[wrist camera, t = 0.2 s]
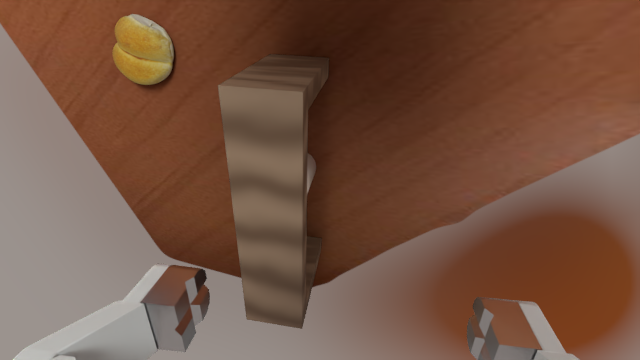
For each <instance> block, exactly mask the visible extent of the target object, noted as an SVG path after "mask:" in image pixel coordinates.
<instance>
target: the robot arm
mask: <svg viewBox="0 0 640 360" xmlns="http://www.w3.org/2000/svg"><path fill="white" fill-rule="evenodd" d="M206 279H207V277H206V273H205V270H203V269H200V268H192V267H185V266H177V265H166V264H159V263H158V264H156V265H153V266H152V268H150V270H149V271H148V272H147V273H146V274H145V275H144V277H143V278H142V279H141V280H140V281H139V282H138V284H137V285H136V286H135V287H134V288H133V289H132V290H131V292H130V293H129V294H128V295H127V296H126V297H125V298H124V300H123V301H116V302H114V303H112V304H110V305H108V306H106V307H104V308H102V309H100V310H98V311H96V312H94V313H92V314H90V315H88V316H86V317H85V318H83V319H81V320H79V321H77V322H75V323H73V324H71V325H69V326H67V327H65V328H63V329H61V330H59V331H57V332H55V333H53V334H51V335H49V336H47V337H46V338H44V339H42V340H40V341H38V342H36V343H34V344H32V345H30V346H28V347H26V348H24V349H23V350H22V351H21V352H20V353H19V354H18V355H17V356H16V357H15V358H14V359H13V360H147V359H148V358H149V357H151V356H152V355H153V354H154V353H156V352H157V351H158V350H157V349H161V350H171V351H181V352H186V350H187V348H188V346H189V344H190V343H191V341H192V339H193V337H194V335H195V334H196V330H195V325H197V324H198V323H200V322H201V321H202V320H203V319H204V317H205V315H206V313H207V310H208V306H209V300H210V294H209V289H208V288H207V287H206V286H205V285H204V283H205V281H206ZM473 309H474V312H475V315H473V316H472V317H471V318H469V322H468V326H467V339H468V345H469V349H470V352H471V354H472V355H473V356H474V357H475V358H476V359H477V360H579V359H578V358H576V357H575V356H574V355H573V354H566V352H565V350H564V349H563V347H562V345H561V343H560V342H559V340H558V338H557V337H556V335H555V333H554V332H553V330H552V328H551V327H550V325H549V323H548V322H547V320H546V318H545V316H544V315H543V313H542V311H541V310H540V308H539V307H538V305H537V304H536V303H534V302H527V301H513V300H503V299H493V298H482V297H477V298H476V299H475V301H474V304H473Z"/></svg>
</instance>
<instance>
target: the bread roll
mask: <svg viewBox="0 0 640 360" xmlns="http://www.w3.org/2000/svg"><path fill="white" fill-rule="evenodd" d="M115 36H116V39H117V42H118V43H116V45H115V46H114V48H113V53H112V54H113V59H114V62H115V64H116V66H117V68H118V69H119V70H120V71H121V72H122V73H123V74H124V75H125V76H126V77H127V78H128V79H130V80H131V81H133V82H135V83H138V84H142V85H152V84H156V83H159V82H161V81H162V80H164V79H165V78H167V77H168V75H169V74H170V72H171V70H172V67H173V64H172V62H173V59H174V49H173V44H172V41H171V39H170V37H169V35H168V34H167V32H166V31H165V29H164V28H162V27H161V26H159V25H158V24H156V23H155V22H153V21H151V20H149V19H147V18H145V17H142V16H140V15H135V14H131V15H130V16H125V17H123V18H121V19H120V20H119V21H118V22H117V24H116V26H115Z"/></svg>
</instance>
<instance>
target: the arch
mask: <svg viewBox="0 0 640 360" xmlns="http://www.w3.org/2000/svg"><path fill="white" fill-rule="evenodd" d="M328 72H329V58H325V57H309V56H293V55H277V54H269V55H268V56H266V57H264V58H263V59H261V60H259V61H258V62H256V63H254V64H253V65H251V66H249V67H248V68H246V69H244V70H243V71H241V72H239V73H238V74H236V75H234V76H233V77H231V78H229V79H228V80H226V81H225V82H223V83H221V84H220V85H218V90H219V98H220V107H221V115H222V123H223V131H224V139H225V147H226V155H227V163H228V171H229V180H230V188H231V196H232V204H233V212H234V220H235V228H236V236H237V244H238V253H239V261H240V269H241V277H242V285H243V293H244V301H245V309H246V317H247V319H248V320H254V321H260V322H266V323H272V324H278V325H284V326H290V327H296V328H302V326H303V322H304V318H305V314H306V310H307V306H308V302H309V297H310V293H311V289H312V285H313V281H314V277H315V273H316V268H317V264H318V260H319V256H320V252H321V242H322V238H316V237H309V236H307V157H308V109H309V108H310V106H311V105H312V103H313V101H314V100H315V98H316V96H317V95H318V93H319V92H320V90H321V88H322V87H323V85H324V83H325V82H326V80H327V78H328Z"/></svg>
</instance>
